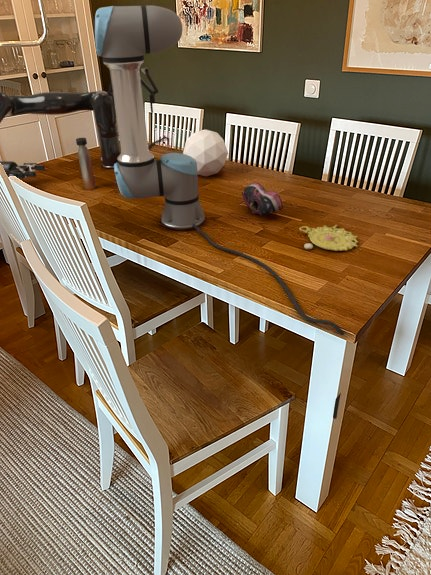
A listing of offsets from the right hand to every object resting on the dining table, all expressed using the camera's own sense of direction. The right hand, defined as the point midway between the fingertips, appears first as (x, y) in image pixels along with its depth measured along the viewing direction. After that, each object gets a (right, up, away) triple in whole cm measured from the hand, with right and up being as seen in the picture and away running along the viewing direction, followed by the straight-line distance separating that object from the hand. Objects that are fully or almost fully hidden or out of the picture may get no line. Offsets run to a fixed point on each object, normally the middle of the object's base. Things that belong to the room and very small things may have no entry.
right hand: (135, 113), depth 181 cm
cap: (-21, -12, -3) cm, 25 cm away
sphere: (+29, -20, +19) cm, 40 cm away
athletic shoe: (+48, -43, -18) cm, 67 cm away
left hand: (-42, -22, +7) cm, 48 cm away
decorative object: (+69, -56, -39) cm, 97 cm away
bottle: (-21, -29, +8) cm, 36 cm away
